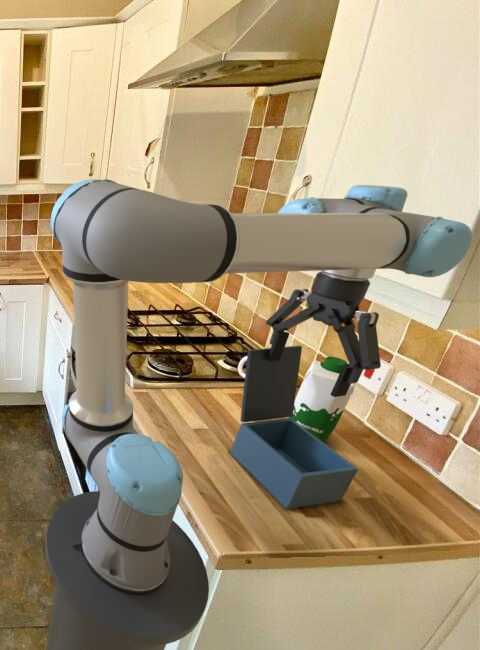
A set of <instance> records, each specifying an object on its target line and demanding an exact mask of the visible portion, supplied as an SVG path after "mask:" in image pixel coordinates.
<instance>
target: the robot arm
mask: <svg viewBox="0 0 480 650" xmlns="http://www.w3.org/2000/svg"><path fill="white" fill-rule="evenodd" d="M407 198H408V191H407V190H406V189H405V188H402V187H399V186H398V187H397V186H387V185H372V184H356V185H352V186H351V187H350V188H349V189H348V190H347V193H346V195H345V196H344V198H324V197H323V198H322V197H320V198H319V197H317V198H316V197H313V196H310V197H308V198H307V197H306V198H297V199H293V200H290V201H289V202H287V203H285V204H284V205H283V206H282V207H281V208H280V209H279V211H278V212H273V213H272V212H230V210H228V208H226V207H225V206H222V205H220V204H206V203H205V204H202V203H195V202H194V203H193V202H188V201H183V200H179V199H176V198H172V197H168V196H165V195H162V194H158V193H155V192H152V191H149V190H146V189H145V190H144V189H140V188H136V187H132V186H129V185H126V184H122V183H118V182H116V181H114V180H111V179H107V178H105V179H104V178H103V179H97V178H88V179H84V180H80V181H77V182H76V183H74V184H72V185H71V186H69V187H68V188H66V190H64V191H63V192H62V194H61V195H60V196H59V197H58V199H57V200H56V201H55V203H54V206H53V208H52V211H51V216H50V229H51V232H52V235H53V238H54V239H55V242H56V243H58V245H60V246H61V262H62V273H63V276H64V277H65V278H66V279H68V280H69V281H70V282H72V292H73V294H72V295H73V296H72V297H73V318H74V321H73V323H74V325H73V327H74V345H75V346H74V348H75V349H74V350H75V351H74V352H75V378H76V379H75V380H76V383H75V384H76V390H75V391H74V392H73V393H72V394H71V396H70V398H69V399H68V404H65V405H64V408H63V410H62V414H61V423H62V427H63V431H64V433H65V435H66V438H67V440H68V441H69V443H70V445H72V447H73V448H74V449H75V451H76V453H77V455H78V456H79V458H80V460H81V461H82V463H83V465H84V466H85V468H86V469H87V471H88V473H89V475H90V477H91V479H92V480H93V482H94V483H95V485H96V487H97V488H98V491H100V498H99V503H98V509H97V510H96V511H95V512H94V514H93V515H92V516H91V517H90V518H89V519H88V521H87V522H86V524H85V526H84V528H83V531H82V537H81V541H78V542H73V546H74V547H78V546H81V549H82V553H83V556H84V559H85V561H86V563H87V565H88V566H89V568H90V569H91V570H92V572H93V573H94V574H95V575H96V576H97V577H98V578H99V579H100V580H102V581H103V582H104V583H105V584H107V585H109V586H110V587H112V588H114V589H116V590H118V591H121V592H124V593H127V594H133V595H144V594H149V593H152V592H154V591H156V590H158V589H159V588H160V587H161V586H162V585H163V584H164V582H165V580H166V578H167V575H168V572H169V568H170V555H169V550H168V544H167V538H166V537H167V534H168V531H169V528H170V526H171V523H172V520H173V521H174V517H175V513H176V511H177V509H178V505H179V503H180V501H181V497H182V493H183V492H182V491H183V488H182V487H183V484H184V474H183V469H182V466H181V464H180V462H179V460H178V458H177V457H176V455H175V454H174V453H173V452H172V450H170V448H168V447H167V446H166V445H165V444H163V443H162V442H160V441H159V440H157V441H153V438H152V437H151V436H148V435H144V434H142V433H139V432H138V431H137V430H136V428H135V427H134V402H133V400H132V399H131V397H130V396H129V395H128V394H127V393H126V371H127V345H128V344H127V342H128V341H127V340H128V310H129V282H135V283H143V284H145V283H147V284H196V283H197V284H198V283H212V282H214V281H217V280H219V279H220V278H222V277H223V276H224V275H225V274H252V273H255V274H256V273H257V274H258V273H282V272H283V273H286V272H289V273H290V272H317V271H319V272H317V273H316V275H315V277H314V280H313V283H312V285H311V292H310V291H309V289H308V288H299V289H293V291H292V293H291V295H290V297H289V299H288V300H286V301H285V302H284V304H282V305H281V306H280V307H279V308H278V309H277V310H276V311H275V312H274V313H273V314H271V316H270V317H269V318H267V320H266V321H265V323H266V325H267V326H270V327H271V328H272V334H271V336H270V340H269V345H271V346H270V348H271V349H270V351H269V354H268V357H267V361H269V362H271V361H280V358H281V356H282V353H283V350H284V348H285V347H286V345H287V342H288V339H289V337H290V332H289V330H290V329H292V328H294V327H296V326H299V325H300V324H302V323H303V322H306V321H309V320H310V319H312V320H313V321H316V322H320V323H323V324H324V325H326V326H328V327H332V329H333V331H334V332H336V334H337V337H338V339H339V341H340V344H341V347H342V349H343V351H344V354H345V356H346V359H347V363H348V364H344V365H343V367H342V369H341V372H340V374H339V376H338V378H337V381H336V383H335V385H334V387H333V390H332V392H331V394H330V395H331V396H333V397H339V396H346V394H347V391H348V389H349V387H350V385H351V384H353V383H355V384H356V383H358V382H359V380H360V378H361V376H362V373H363V372H364V371H370V370H377V369H378V370H379V369H380V368H381V367H382V363H381V356H380V355H381V354H380V348H379V347H380V346H379V339H378V332H377V330H378V329H377V324H378V321H379V317H380V314H379V313H378V312H376V311H372V312H368V311H364V310H360V305H361V303H362V301H363V300H364V299H365V296H366V295H367V293H368V290H369V288H370V286H371V282H370V280H369V279H372V278H373V277H374V276H375V273H376V271H377V270H387V269H388V270H389V269H390V270H396V271H400V272H403V273H404V274H405V275H414V276H419V277H424V278H436V277H440V276H442V275H445V274H447V273H448V272H450V271H451V270H453V269H454V268H455V267H457V266H458V265H459V264H460V263H461V262H462V260H464V258H465V257H466V254H467V253H468V251H469V249H470V248H471V245H472V242H473V232H472V229H471V228H470V226H468V225H467V224H466V223H464V222H460V221H456V220H452V219H447V218H443V216H432V215H425V214H418V213H412V212H408V211H407V212H406V211H403V210H404V208H405V204H406V201H407ZM304 302H306V303H307V306H308V307H305V308H304V309H302V310H301V311H299V312H298V313H296V314H295V315H293V316H291V317H289V316H290V315H292V313H294V312H295V311H296V310H297V309H298V308H300V306H301V305H302V304H303V303H304ZM288 317H289V318H288ZM354 318H356V319H355V322H354V320H353V319H354ZM355 323H357V333H356V330H355V329H356V324H355ZM357 334H358V335H357Z"/></svg>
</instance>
